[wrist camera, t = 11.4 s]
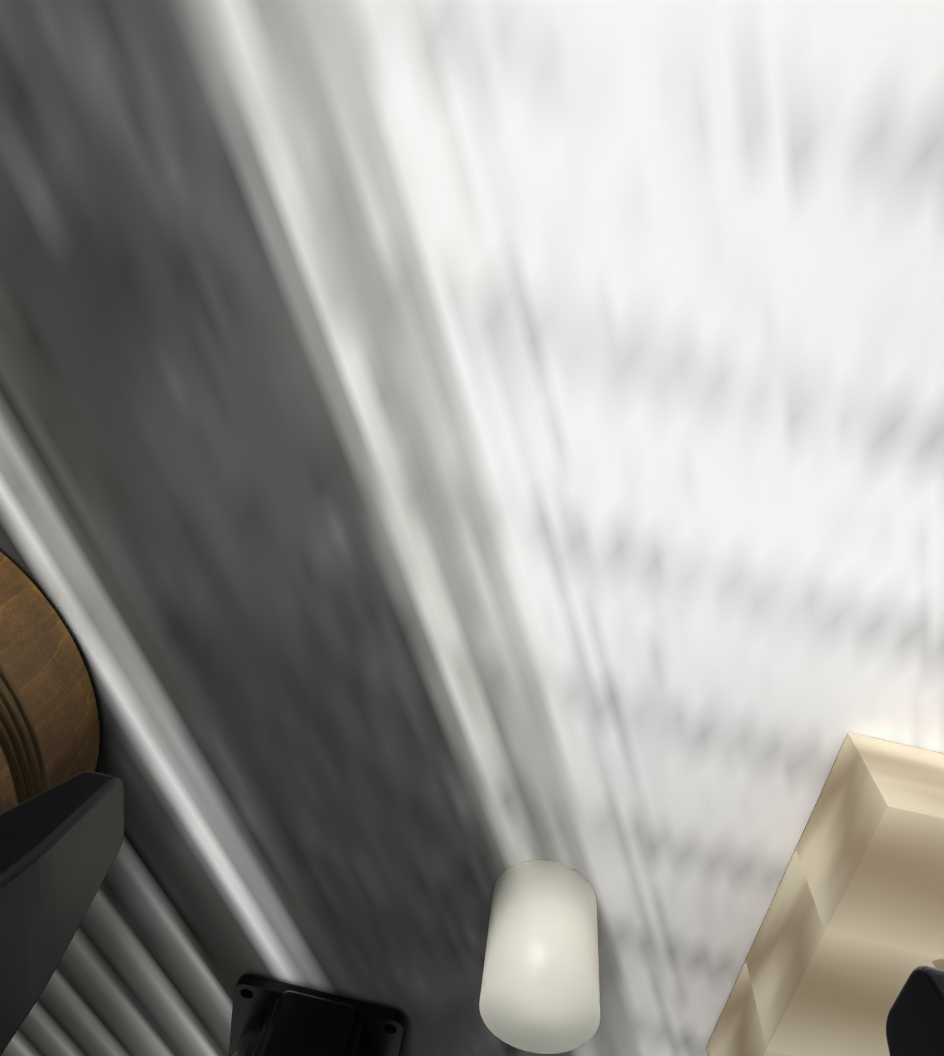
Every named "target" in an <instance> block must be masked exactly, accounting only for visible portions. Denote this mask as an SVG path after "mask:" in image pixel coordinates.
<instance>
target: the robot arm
mask: <svg viewBox="0 0 944 1056" xmlns="http://www.w3.org/2000/svg"><path fill="white" fill-rule="evenodd" d="M123 836H124V785H123V782H122V780H121V779H120V778H118V777H116V776H111V775H107V774H103V773H99V772H94V771H85V772H82V773H79V774H77V775H75V776H73V777H71V778H69V779H68V780H66V781H64V782H62V783H60V784H58V785H56V786H54V787H52V788H50V789H48V790H46V791H44V792H42V793H40V794H38V795H36V796H34V797H32V798H30V799H28V800H26V801H24V802H23V803H21V804H19V805H17V806H15V807H13V808H11V809H9V810H7V811H5V812H3V813H1V814H0V1055H1V1054H2V1052H3V1051H4V1049H5V1048H6V1046H7V1045H8V1043H9V1042H10V1040H11V1039H12V1037H13V1036H14V1034H15V1033H16V1031H17V1030H18V1028H19V1027H20V1025H21V1024H22V1022H23V1021H24V1019H25V1018H26V1016H27V1015H28V1013H29V1012H30V1010H31V1009H32V1007H33V1006H34V1004H35V1003H36V1001H37V999H38V998H39V996H40V995H41V993H42V991H43V990H44V988H45V987H46V985H47V983H48V982H49V980H50V978H51V976H52V974H53V973H54V971H55V969H56V967H57V966H58V964H59V962H60V960H61V958H62V956H63V955H64V953H65V951H66V949H67V947H68V945H69V943H70V941H71V940H72V938H73V936H74V934H75V932H76V930H77V928H78V927H79V925H80V923H81V921H82V919H83V917H84V915H85V913H86V912H87V910H88V908H89V906H90V904H91V902H92V900H93V898H94V897H95V895H96V893H97V891H98V889H99V887H100V885H101V884H102V882H103V880H104V878H105V876H106V874H107V872H108V870H109V869H110V867H111V865H112V863H113V861H114V859H115V857H116V856H117V853H118V851H119V849H120V846H121V844H122V840H123ZM404 1026H405V1017H404V1016H403V1014H401V1013H400V1012H399V1011H396V1010H393V1009H389V1008H385V1007H381V1006H377V1005H373V1004H369V1003H365V1002H361V1001H357V1000H352V999H348V998H344V997H340V996H336V995H332V994H328V993H324V992H320V991H316V990H312V989H307V988H303V987H299V986H295V985H291V984H287V983H283V982H279V981H275V980H271V979H267V978H262V977H258V976H254V975H248V974H246V975H242V976H241V977H240V978H239V980H238V982H237V985H236V987H235V989H234V997H233V1010H232V1022H231V1035H230V1048H229V1056H398V1054H399V1049H400V1045H401V1040H402V1035H403V1030H404ZM886 1038H887V1044H888V1049H889V1054H890V1056H944V970H942V969H937V968H933V967H929V966H919V967H917V968H915V969H914V970H913V971H912V972H911V974H910V975H909V977H908V979H907V981H906V982H905V984H904V986H903V988H902V989H901V991H900V993H899V995H898V996H897V998H896V1000H895V1001H894V1003H893V1005H892V1007H891V1008H890V1010H889V1012H888V1016H887V1020H886Z"/></svg>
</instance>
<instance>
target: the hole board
mask: <svg viewBox="0 0 944 1056" xmlns="http://www.w3.org/2000/svg"><path fill="white" fill-rule="evenodd" d="M919 966H929V967H933V968H937V969H942V970H944V754H943V753H938V752H933V751H929V750H924V749H920V748H915V747H911V746H906V745H902V744H897V743H892V742H888V741H883V740H879V739H874V738H870V737H865V736H861V735H856V734H851V733H848V734H847V737H846V739H845V741H844V743H843V746H842V748H841V750H840V752H839V754H838V757H837V759H836V761H835V763H834V765H833V768H832V770H831V772H830V774H829V777H828V779H827V781H826V783H825V785H824V788H823V790H822V792H821V794H820V797H819V799H818V801H817V803H816V805H815V808H814V810H813V812H812V814H811V816H810V819H809V821H808V823H807V825H806V828H805V830H804V832H803V834H802V836H801V839H800V841H799V843H798V845H797V848H796V850H795V852H794V854H793V856H792V859H791V861H790V863H789V865H788V868H787V870H786V872H785V874H784V876H783V879H782V881H781V883H780V885H779V887H778V890H777V892H776V894H775V896H774V899H773V901H772V903H771V905H770V907H769V910H768V912H767V914H766V916H765V919H764V921H763V923H762V925H761V927H760V930H759V932H758V934H757V936H756V938H755V941H754V943H753V945H752V947H751V950H750V952H749V954H748V956H747V958H746V961H745V963H744V965H743V967H742V970H741V972H740V974H739V976H738V978H737V981H736V983H735V985H734V987H733V990H732V992H731V994H730V996H729V998H728V1001H727V1003H726V1005H725V1007H724V1009H723V1012H722V1014H721V1016H720V1018H719V1021H718V1023H717V1025H716V1027H715V1029H714V1032H713V1034H712V1036H711V1038H710V1041H709V1043H708V1045H707V1051H708V1056H890V1054H889V1049H888V1044H887V1038H886V1020H887V1016H888V1012H889V1010H890V1008H891V1007H892V1005H893V1003H894V1001H895V1000H896V998H897V996H898V995H899V993H900V991H901V989H902V988H903V986H904V984H905V982H906V981H907V979H908V977H909V975H910V974H911V972H912V971H913V970H914V969H915V968H917V967H919Z"/></svg>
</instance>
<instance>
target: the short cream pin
mask: <svg viewBox="0 0 944 1056" xmlns="http://www.w3.org/2000/svg"><path fill="white" fill-rule="evenodd" d="M479 1008H480V1014H481V1017H482V1019H483V1021H484V1023H485V1025H486V1026H487V1027H488V1029H489V1030H490V1031H491V1032H492V1033H493V1034H494V1035H495V1036H496V1037H498V1038H499V1039H500V1040H502V1041H504V1042H505V1043H507V1044H509V1045H511V1046H513V1047H515V1048H518V1049H521V1050H524V1051H528V1052H533V1053H540V1054H556V1053H563V1052H567V1051H571V1050H574V1049H576V1048H579V1047H580V1046H582V1045H584V1044H585V1043H587V1042H588V1041H589V1040H590V1039H591V1038H592V1037H593V1036H594V1035H595V1033H596V1032H597V1029H598V1027H599V1024H600V990H599V959H598V928H597V901H596V895H595V892H594V890H593V888H592V886H591V884H590V883H589V882H588V880H587V879H586V878H585V877H584V876H583V875H581V874H580V873H579V872H577V871H576V870H574V869H572V868H571V867H569V866H566V865H564V864H561V863H557V862H553V861H546V860H533V861H526V862H522V863H519V864H517V865H514V866H512V867H510V868H509V869H507V870H506V871H505V872H504V873H503V874H501V876H500V877H499V878H498V880H497V881H496V883H495V886H494V890H493V897H492V905H491V913H490V921H489V929H488V937H487V946H486V954H485V962H484V970H483V978H482V986H481V995H480V1003H479Z"/></svg>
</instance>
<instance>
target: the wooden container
mask: <svg viewBox="0 0 944 1056" xmlns="http://www.w3.org/2000/svg"><path fill="white" fill-rule="evenodd" d="M99 738H100V726H99V717H98V709H97V702H96V698H95V694H94V690H93V686H92V683H91V680H90V677H89V674H88V671H87V669H86V666H85V664H84V661H83V659H82V657H81V655H80V653H79V651H78V648H77V646H76V645H75V643H74V641H73V639H72V637H71V635H70V633H69V632H68V630H67V628H66V627H65V625H64V624H63V622H62V621H61V619H60V617H59V616H58V614H57V613H56V612H55V610H54V609H53V607H52V606H51V605H50V603H49V602H48V601H47V599H46V598H45V597H44V596H43V594H42V593H41V592H40V591H39V590H38V588H37V587H36V586H35V585H34V584H33V583H32V581H31V580H30V579H29V578H28V577H27V576H26V575H25V574H24V573H23V572H22V571H21V570H20V569H19V568H18V567H17V566H16V565H15V564H14V563H13V562H12V561H11V560H10V559H9V558H7V557H6V556H5V555H4V554H3V553H2V552H1V551H0V814H1V813H3V812H5V811H7V810H9V809H11V808H13V807H15V806H17V805H19V804H21V803H23V802H24V801H26V800H28V799H30V798H32V797H34V796H36V795H38V794H40V793H42V792H44V791H46V790H48V789H50V788H52V787H54V786H56V785H58V784H60V783H62V782H64V781H66V780H68V779H69V778H71V777H73V776H75V775H77V774H79V773H82V772H85V771H94V772H95V769H96V765H97V760H98V753H99Z"/></svg>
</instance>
